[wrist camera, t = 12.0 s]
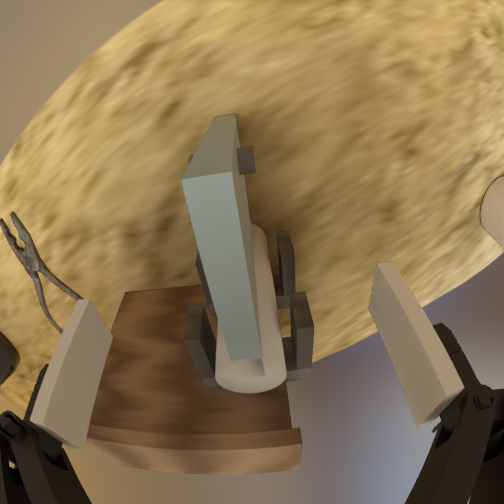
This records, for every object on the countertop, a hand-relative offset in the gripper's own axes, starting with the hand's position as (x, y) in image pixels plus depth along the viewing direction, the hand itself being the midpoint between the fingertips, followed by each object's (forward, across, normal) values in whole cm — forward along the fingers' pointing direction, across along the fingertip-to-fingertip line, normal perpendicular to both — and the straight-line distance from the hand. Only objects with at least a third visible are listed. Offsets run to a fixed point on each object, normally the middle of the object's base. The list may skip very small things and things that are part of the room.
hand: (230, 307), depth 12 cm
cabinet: (+14, -5, -11) cm, 18 cm away
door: (+14, 0, -1) cm, 14 cm away
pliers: (+15, -26, -8) cm, 31 cm away
